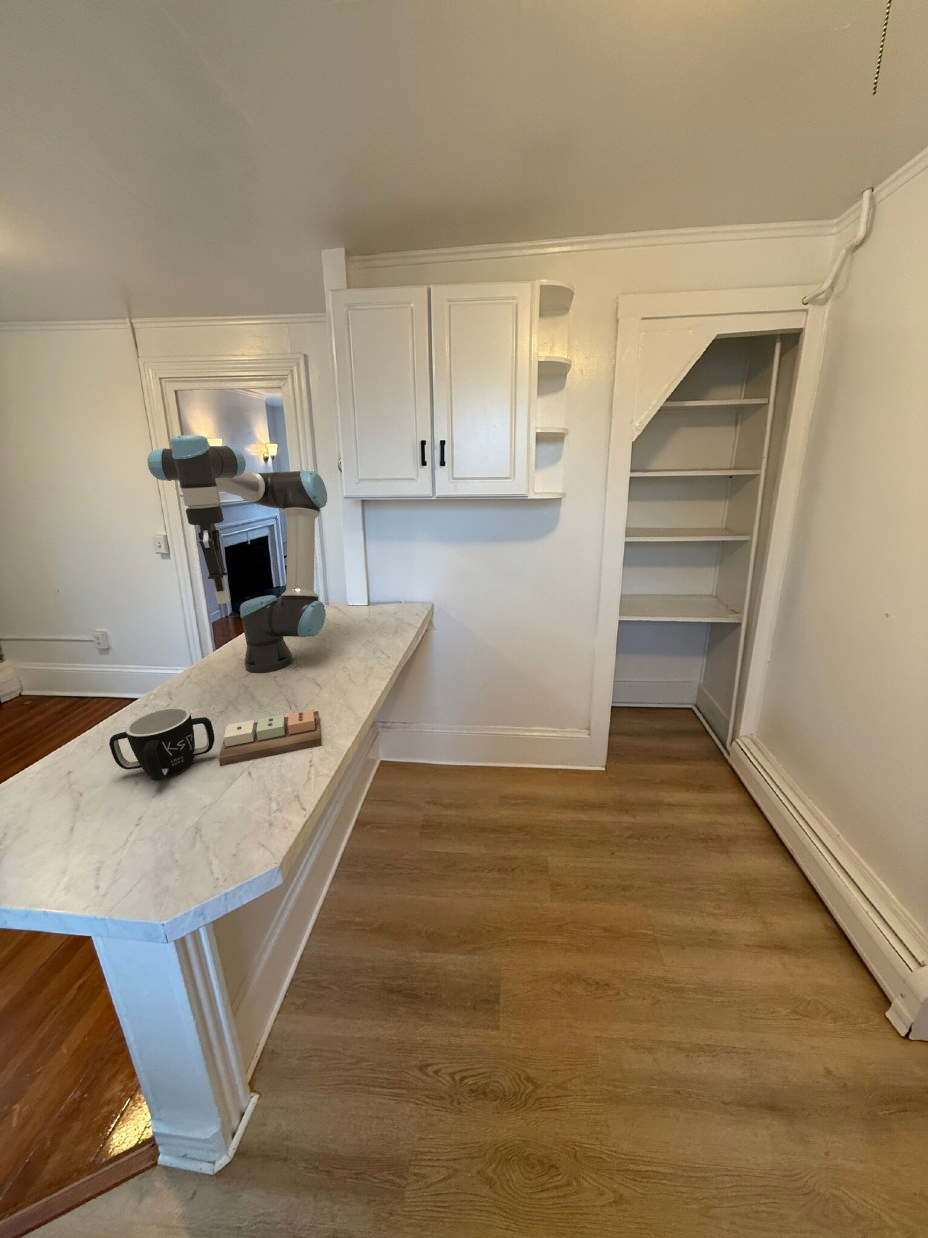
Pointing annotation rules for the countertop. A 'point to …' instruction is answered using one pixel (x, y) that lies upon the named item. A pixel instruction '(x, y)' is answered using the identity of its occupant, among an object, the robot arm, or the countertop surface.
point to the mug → (162, 742)
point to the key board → (271, 745)
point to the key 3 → (301, 721)
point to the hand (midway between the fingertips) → (223, 602)
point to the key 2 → (271, 727)
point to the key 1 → (239, 733)
